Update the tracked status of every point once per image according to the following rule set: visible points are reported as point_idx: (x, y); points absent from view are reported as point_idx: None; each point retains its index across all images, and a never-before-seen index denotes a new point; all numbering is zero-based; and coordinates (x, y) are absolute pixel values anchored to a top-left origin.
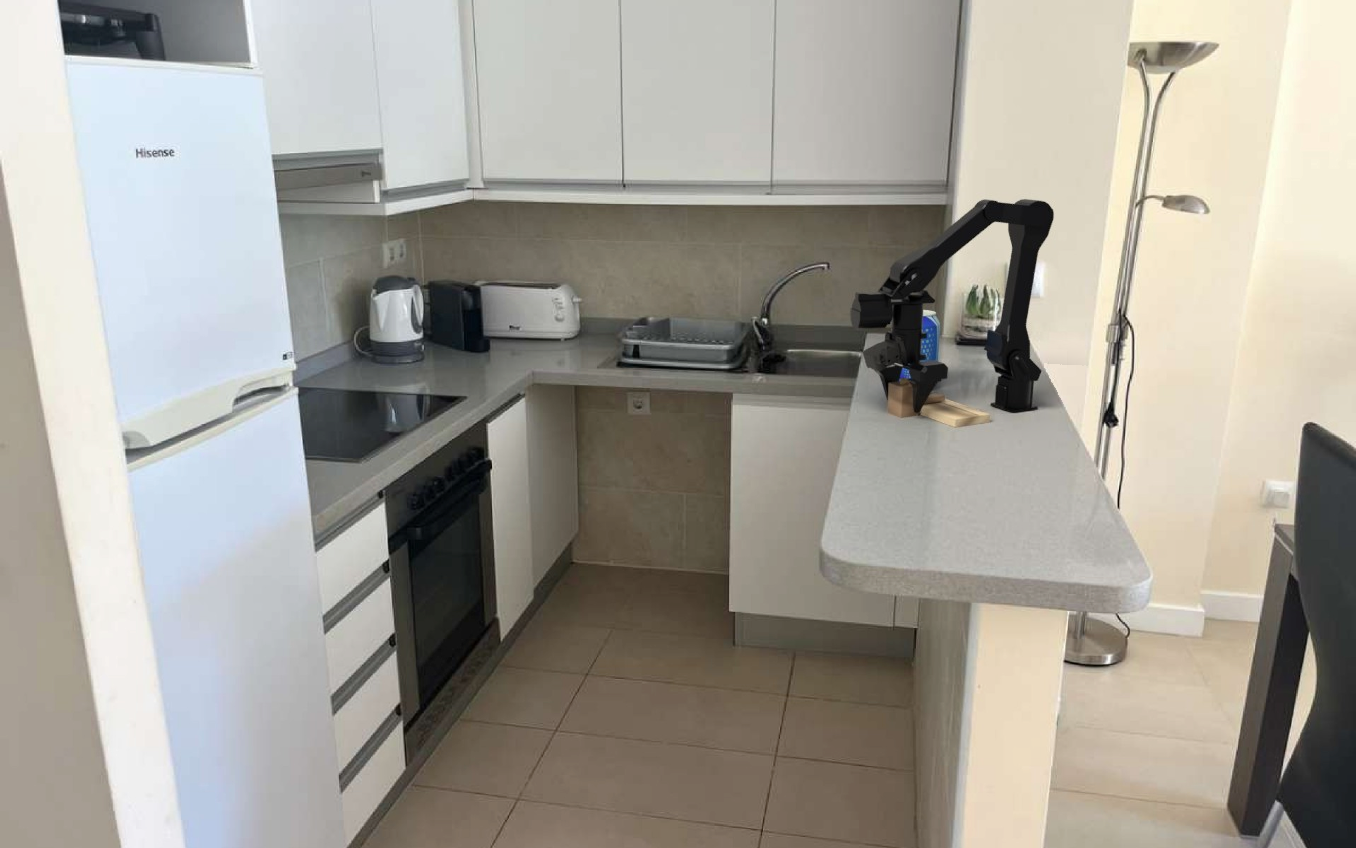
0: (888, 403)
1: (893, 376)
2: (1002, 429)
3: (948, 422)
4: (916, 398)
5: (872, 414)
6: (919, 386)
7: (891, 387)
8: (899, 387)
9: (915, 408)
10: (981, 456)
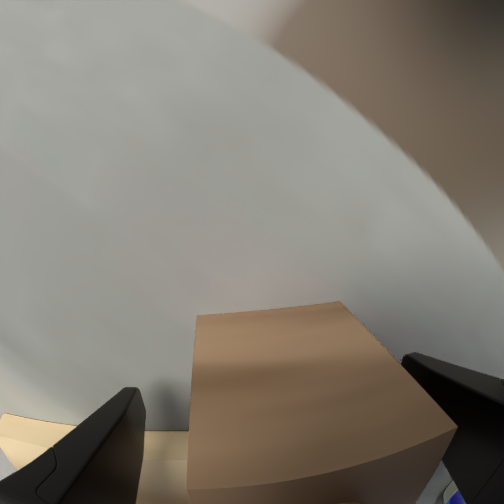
0: (359, 330)
1: (493, 477)
2: (2, 478)
3: (30, 426)
4: (56, 443)
5: (352, 197)
6: None
7: (393, 419)
8: (247, 475)
9: (109, 401)
10: None
